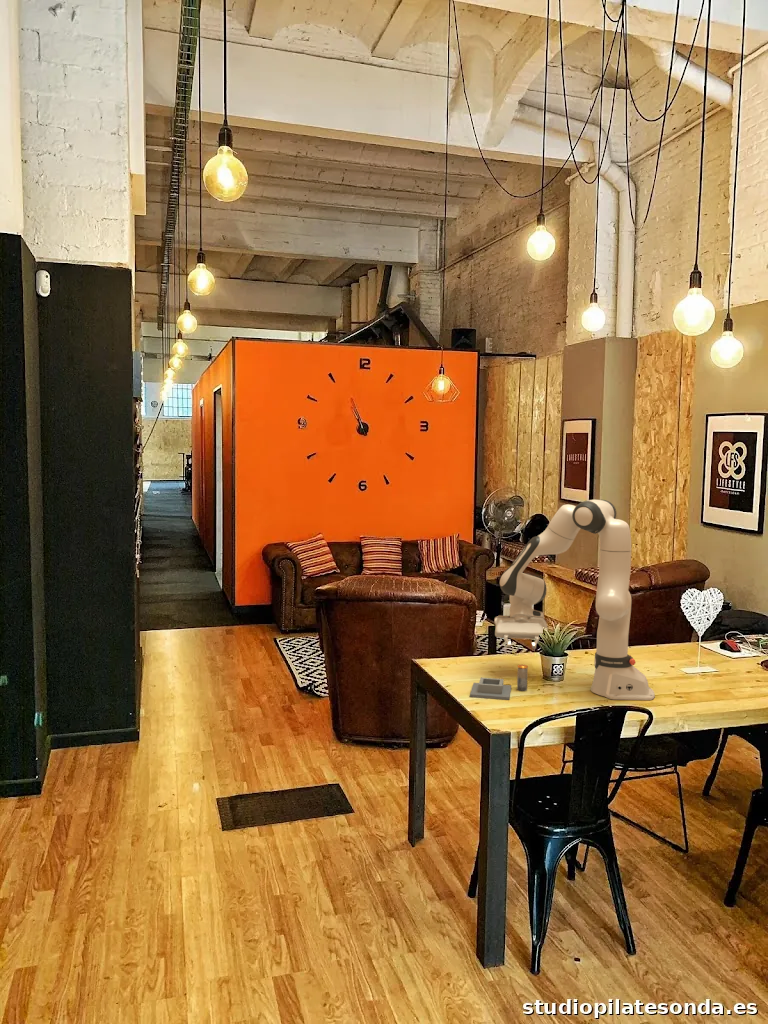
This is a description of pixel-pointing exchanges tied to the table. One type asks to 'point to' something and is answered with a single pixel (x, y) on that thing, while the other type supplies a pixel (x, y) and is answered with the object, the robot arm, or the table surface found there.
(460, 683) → the table surface
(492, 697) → the grey square socket base
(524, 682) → the pivot pin
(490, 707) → the table surface
